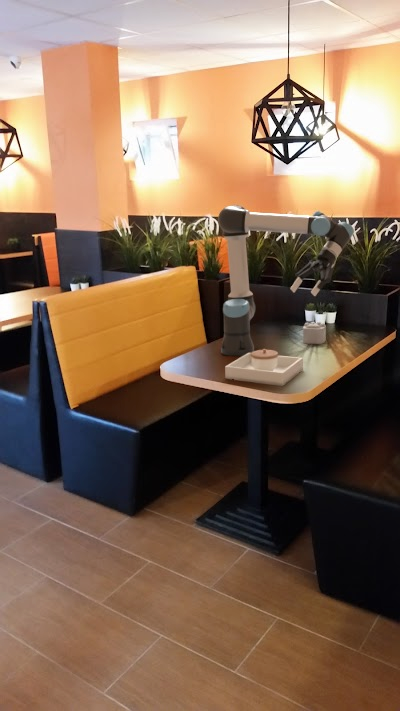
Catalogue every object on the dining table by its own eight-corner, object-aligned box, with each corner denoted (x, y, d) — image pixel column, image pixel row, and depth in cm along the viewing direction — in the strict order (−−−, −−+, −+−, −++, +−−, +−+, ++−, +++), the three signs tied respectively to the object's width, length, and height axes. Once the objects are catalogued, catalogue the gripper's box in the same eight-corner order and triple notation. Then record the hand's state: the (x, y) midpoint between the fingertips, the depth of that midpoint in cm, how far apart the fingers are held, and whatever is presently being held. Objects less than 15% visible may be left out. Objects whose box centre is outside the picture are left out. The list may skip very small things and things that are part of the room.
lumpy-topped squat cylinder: (301, 343, 281) (301, 325, 279) (306, 336, 293) (306, 319, 291) (323, 344, 278) (323, 326, 275) (327, 337, 289) (327, 320, 287)
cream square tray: (225, 378, 233) (225, 366, 232) (248, 363, 251) (248, 352, 250) (282, 385, 222) (282, 373, 220) (302, 369, 240) (302, 357, 239)
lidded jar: (271, 377, 229) (271, 353, 227) (246, 373, 235) (246, 351, 232) (282, 369, 238) (282, 347, 236) (258, 366, 243) (258, 344, 241)
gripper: (354, 261, 250) (326, 301, 247) (314, 257, 271) (288, 294, 267) (345, 250, 246) (317, 290, 243) (305, 246, 267) (279, 283, 263)
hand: (302, 292), depth 255 cm, fingers open, 13 cm apart
